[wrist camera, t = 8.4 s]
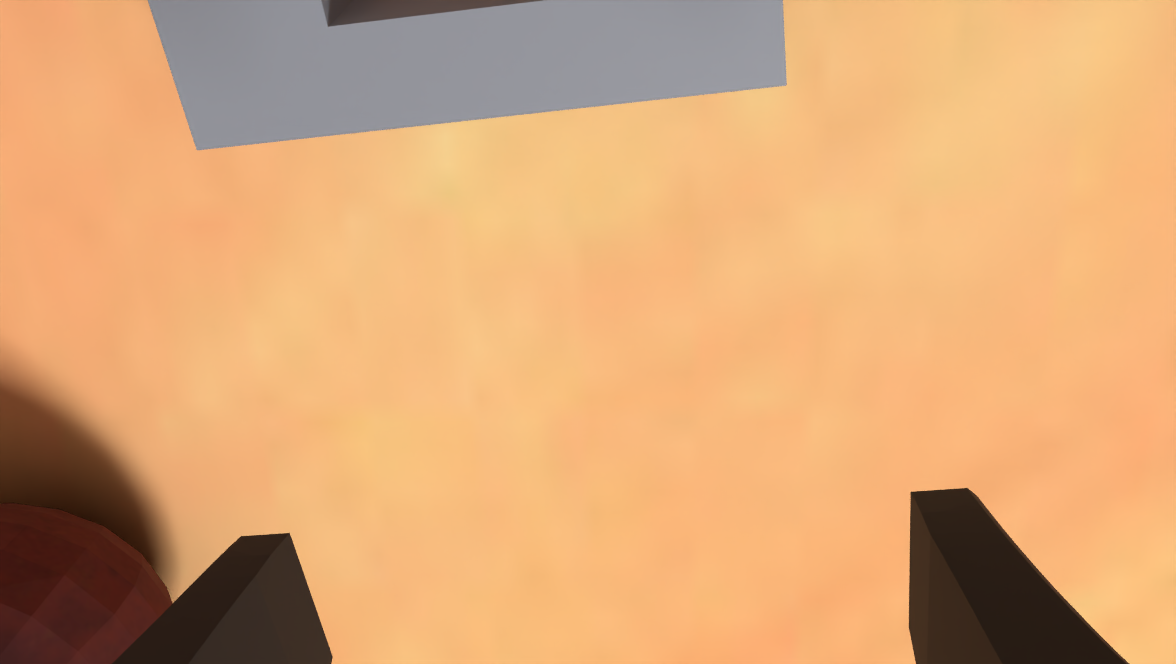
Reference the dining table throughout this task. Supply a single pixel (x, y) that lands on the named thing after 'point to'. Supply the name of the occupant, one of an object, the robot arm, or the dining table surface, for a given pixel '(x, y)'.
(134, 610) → the potato
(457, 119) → the socket block
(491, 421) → the dining table surface
